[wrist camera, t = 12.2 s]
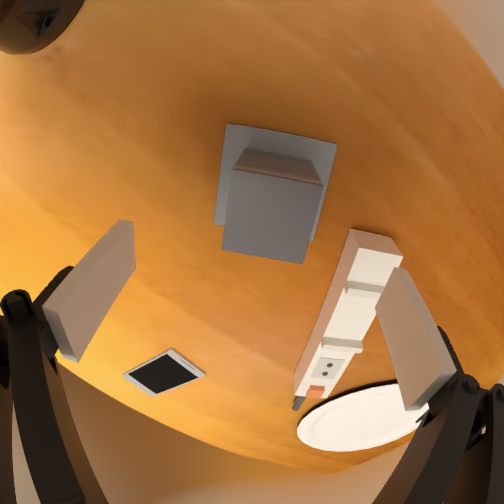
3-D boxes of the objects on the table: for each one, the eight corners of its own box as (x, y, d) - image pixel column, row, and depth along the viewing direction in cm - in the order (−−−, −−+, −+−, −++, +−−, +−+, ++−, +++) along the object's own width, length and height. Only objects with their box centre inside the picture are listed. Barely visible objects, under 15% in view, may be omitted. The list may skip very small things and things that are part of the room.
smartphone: (122, 372, 47) (121, 376, 46) (173, 345, 41) (171, 349, 40) (152, 393, 49) (151, 397, 48) (207, 371, 43) (206, 375, 42)
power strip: (350, 228, 29) (362, 254, 25) (390, 237, 29) (407, 263, 25) (281, 401, 46) (280, 427, 41) (308, 404, 46) (308, 429, 41)
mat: (227, 123, 25) (226, 123, 24) (336, 143, 25) (337, 144, 24) (215, 221, 30) (213, 223, 29) (311, 238, 30) (312, 241, 30)
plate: (459, 392, 44) (461, 398, 43) (365, 451, 58) (366, 456, 57) (371, 358, 39) (373, 367, 38) (268, 432, 53) (268, 439, 51)
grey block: (244, 147, 25) (231, 168, 19) (311, 160, 25) (324, 186, 19) (235, 209, 29) (220, 250, 22) (297, 220, 29) (303, 264, 22)
